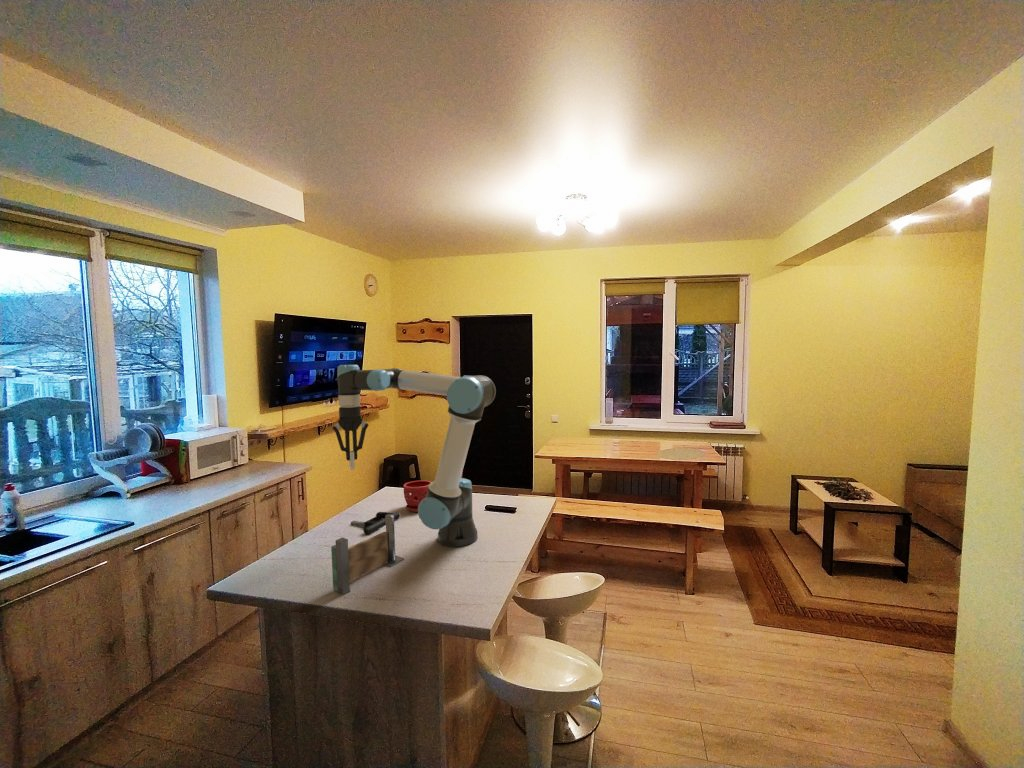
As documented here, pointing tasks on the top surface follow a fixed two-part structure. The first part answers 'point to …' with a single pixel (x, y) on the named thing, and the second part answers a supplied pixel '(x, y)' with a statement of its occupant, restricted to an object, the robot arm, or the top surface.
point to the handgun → (375, 522)
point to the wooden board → (363, 557)
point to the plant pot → (415, 493)
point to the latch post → (342, 566)
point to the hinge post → (391, 542)
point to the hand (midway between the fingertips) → (352, 468)
